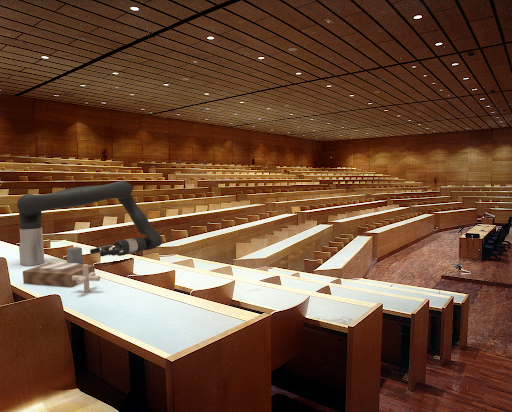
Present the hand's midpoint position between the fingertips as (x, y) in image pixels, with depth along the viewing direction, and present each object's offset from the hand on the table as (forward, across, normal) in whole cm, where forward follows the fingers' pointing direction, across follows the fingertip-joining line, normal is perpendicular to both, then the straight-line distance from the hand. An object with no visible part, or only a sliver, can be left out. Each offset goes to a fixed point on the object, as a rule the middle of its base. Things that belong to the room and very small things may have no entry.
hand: (95, 252), depth 175 cm
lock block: (+10, 0, +6) cm, 11 cm away
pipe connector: (+22, +32, +6) cm, 39 cm away
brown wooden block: (+21, +9, +6) cm, 24 cm away
